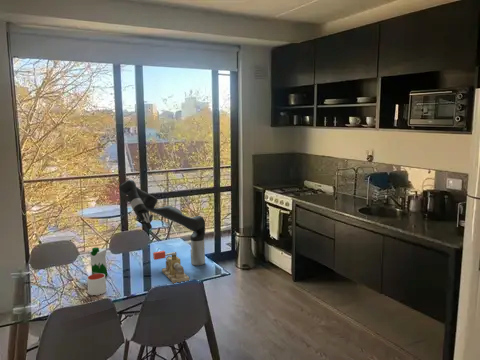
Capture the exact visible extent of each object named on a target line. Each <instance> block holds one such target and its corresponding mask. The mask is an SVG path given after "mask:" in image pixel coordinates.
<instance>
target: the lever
mask: <svg viewBox="0 0 480 360" xmlns="http://www.w3.org/2000/svg"><path fill="white" fill-rule="evenodd" d="M152 255H153V260H155V261H156V260H161V259H166V258H167V257H168V256H171V257H172V256H176V257H177V251H172V252H168V253H166V251H165V250H160V251H154V252H152Z"/></svg>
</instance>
